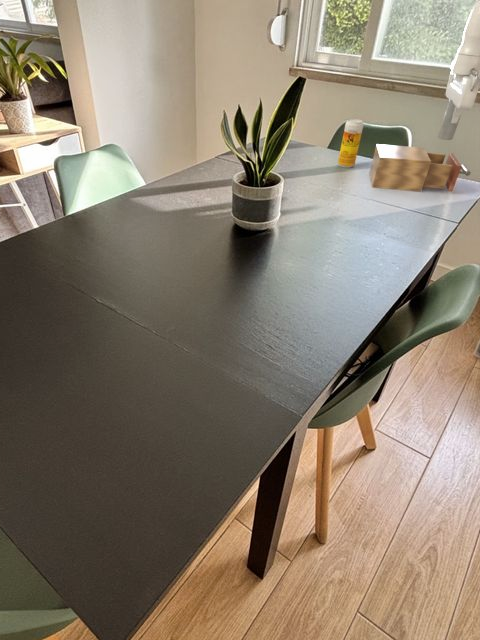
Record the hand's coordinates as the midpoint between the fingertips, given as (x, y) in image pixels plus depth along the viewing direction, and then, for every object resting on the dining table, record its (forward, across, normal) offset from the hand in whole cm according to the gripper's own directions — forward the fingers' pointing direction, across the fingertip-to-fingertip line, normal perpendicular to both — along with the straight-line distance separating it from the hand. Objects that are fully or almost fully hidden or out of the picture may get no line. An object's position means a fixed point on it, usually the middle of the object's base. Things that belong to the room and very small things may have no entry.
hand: (451, 120), depth 131 cm
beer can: (+20, +14, +27) cm, 37 cm away
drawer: (+19, +1, -1) cm, 19 cm away
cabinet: (+20, +1, +11) cm, 23 cm away
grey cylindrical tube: (+5, 0, 0) cm, 5 cm away
